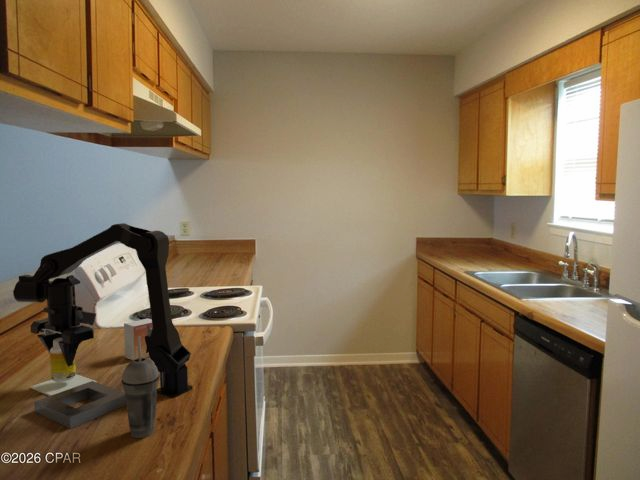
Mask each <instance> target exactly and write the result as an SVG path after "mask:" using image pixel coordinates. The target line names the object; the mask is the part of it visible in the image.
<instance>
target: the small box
mask: <svg viewBox="0 0 640 480" xmlns="http://www.w3.org/2000/svg"><path fill="white" fill-rule="evenodd" d="M151 332H152V318H148V317H147V318H143V319H140V320H134V321H131V322H130V321H129V322H125V323H123V333H124V334H123V335H124V336H123V337H124V358H126V359H128V360H130V361H133V360H135V359H138V336H140V343H141V358H146V359H148V358H150V357H149V352H148V353H146V350H147V346H146V342H145V336H146V335H148V334H149V333H151Z"/></svg>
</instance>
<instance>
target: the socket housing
mask: <svg viewBox="0 0 640 480" xmlns="http://www.w3.org/2000/svg"><path fill="white" fill-rule="evenodd" d="M94 381H95V380H94ZM94 381H91V382H88V383H85V384H82V385H79V386H77V387H74V388H71V389H68V390H65V391H62V392H60V393H57V394H54V395H51V396H48V395H47V396H45V397H42V398H41V399H37V400H35V401H33V403H34V404H33V405H34V407H33V408H34V413H35V414H38V415H40V416H42V417H43V418H44V417H45V418H46V419H49V420H51V421H52V422H55V423H58V424H60V425H61V426H64V427H66V428H68V429H73V428H75V427H79V425H82V424H86V423H88V422H90V421H92V420H94V419H97V418H99V417H101V416H104V415H106V414H108V413H111V412H113V411H115V410H117V409H119V408H123V407H125V406H127V405H126V397H125V392H124V391H121V390H119V389H116V388H114V387H110V386H107V385H105V384H102V383H99V382H98V381H97V382H94ZM86 399H91V400H93V401H90V402H88V403H86V404H83V405H80V406H78V407H74V406H71V405H73V404H76V403H79V402H81V401H84V400H86Z"/></svg>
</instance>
